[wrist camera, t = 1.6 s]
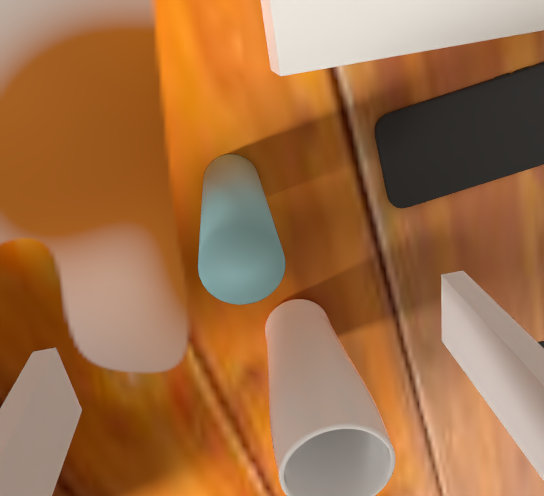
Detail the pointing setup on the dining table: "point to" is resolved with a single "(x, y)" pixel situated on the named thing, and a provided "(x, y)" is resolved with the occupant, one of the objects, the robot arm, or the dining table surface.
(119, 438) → the dining table surface
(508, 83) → the phone
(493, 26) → the socket block
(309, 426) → the drinking glass
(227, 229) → the teal peg
